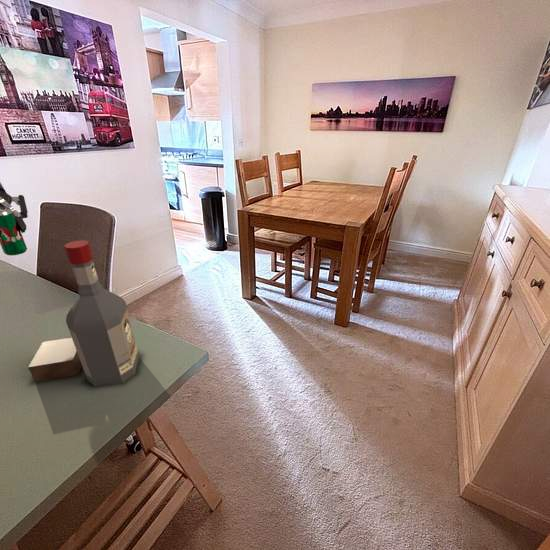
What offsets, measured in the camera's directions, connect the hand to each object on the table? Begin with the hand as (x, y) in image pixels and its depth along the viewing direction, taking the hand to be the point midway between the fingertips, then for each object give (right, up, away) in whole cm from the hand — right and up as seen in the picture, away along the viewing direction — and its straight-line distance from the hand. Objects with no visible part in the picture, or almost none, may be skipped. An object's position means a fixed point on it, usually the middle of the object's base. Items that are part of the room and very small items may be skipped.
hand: (10, 233), depth 79 cm
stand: (+23, -32, -12) cm, 41 cm away
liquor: (+34, -32, -13) cm, 49 cm away
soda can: (-2, -5, +4) cm, 6 cm away
